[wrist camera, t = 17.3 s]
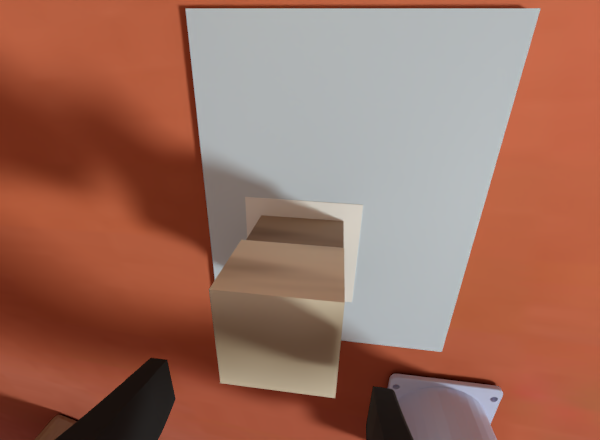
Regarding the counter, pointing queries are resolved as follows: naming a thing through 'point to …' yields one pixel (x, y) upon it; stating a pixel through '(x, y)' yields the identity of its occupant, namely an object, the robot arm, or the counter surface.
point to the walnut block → (298, 231)
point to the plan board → (360, 142)
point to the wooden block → (55, 428)
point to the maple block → (280, 317)
